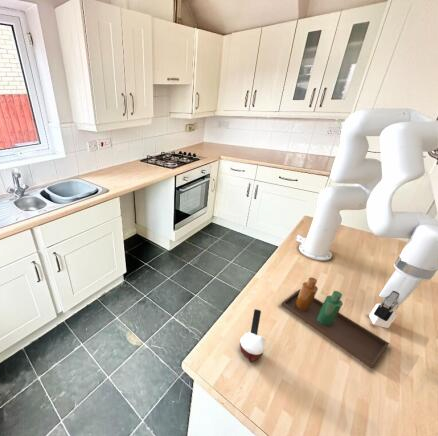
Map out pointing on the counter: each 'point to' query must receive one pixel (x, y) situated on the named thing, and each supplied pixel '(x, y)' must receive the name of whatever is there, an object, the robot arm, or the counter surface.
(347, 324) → the tray
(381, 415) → the counter surface
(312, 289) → the amber bottle
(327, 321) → the green bottle
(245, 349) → the cocoa
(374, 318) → the salt shaker
